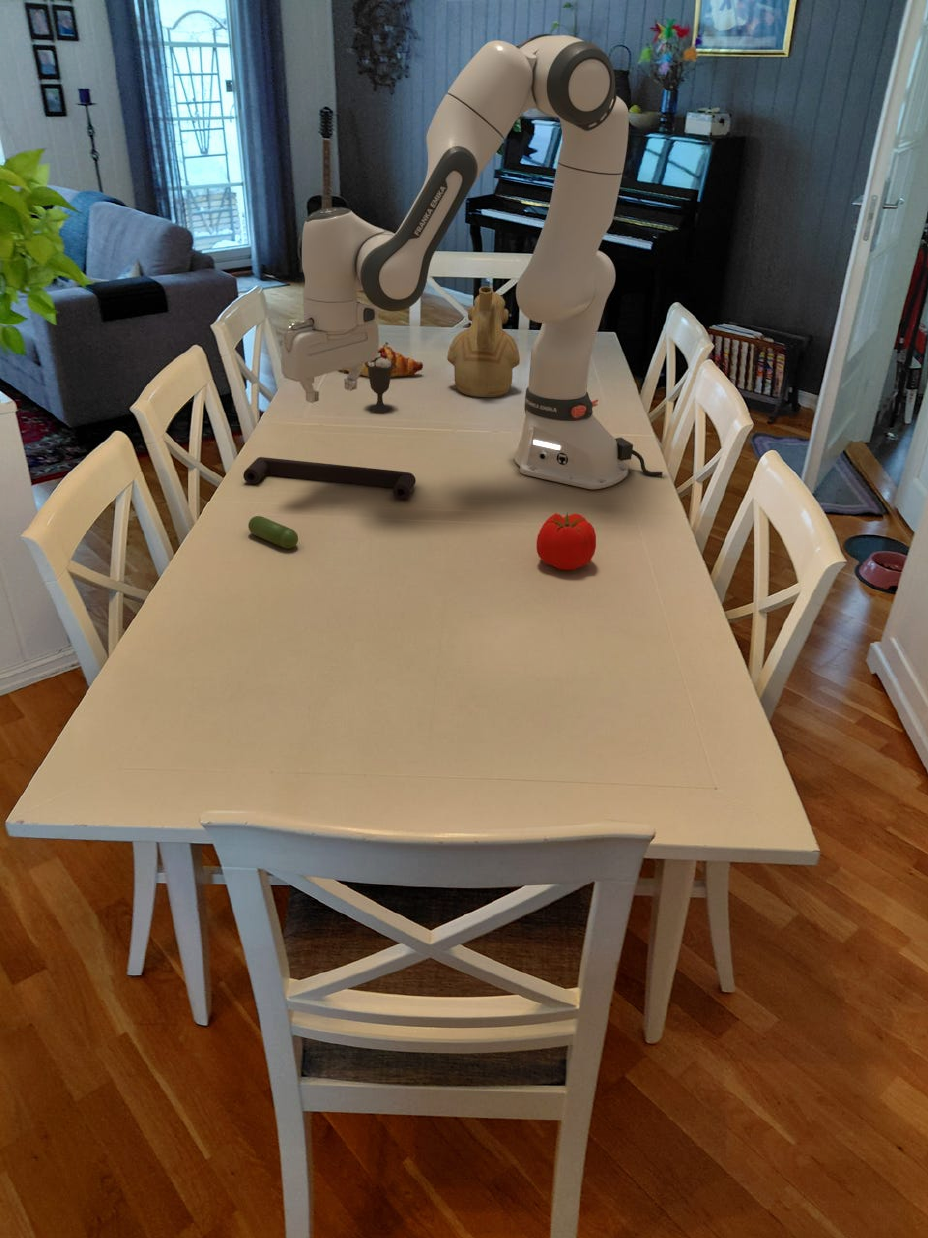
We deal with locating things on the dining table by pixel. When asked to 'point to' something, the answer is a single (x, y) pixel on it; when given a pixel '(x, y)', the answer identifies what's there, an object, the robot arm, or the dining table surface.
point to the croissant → (402, 364)
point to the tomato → (566, 541)
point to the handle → (332, 474)
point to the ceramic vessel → (484, 349)
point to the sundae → (380, 378)
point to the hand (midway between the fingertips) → (332, 395)
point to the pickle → (273, 532)
